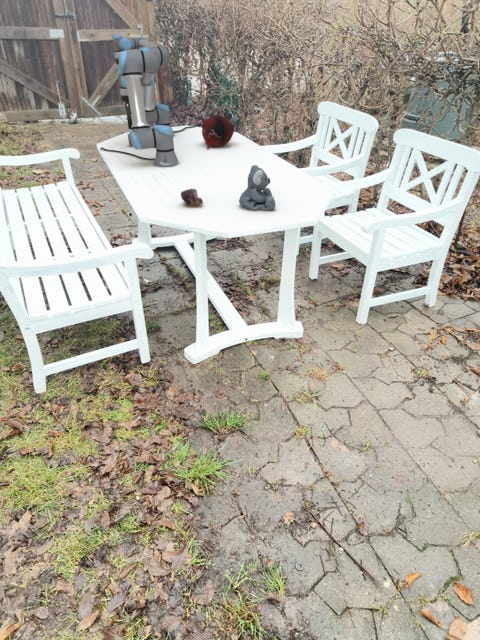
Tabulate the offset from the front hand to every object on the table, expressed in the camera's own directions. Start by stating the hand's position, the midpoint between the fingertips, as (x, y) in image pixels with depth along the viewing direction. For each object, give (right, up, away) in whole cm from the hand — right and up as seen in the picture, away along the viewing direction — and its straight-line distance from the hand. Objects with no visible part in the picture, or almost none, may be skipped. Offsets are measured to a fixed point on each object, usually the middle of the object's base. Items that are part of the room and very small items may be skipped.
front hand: (130, 127), depth 328 cm
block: (0, -11, +7) cm, 13 cm away
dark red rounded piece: (+64, -11, +7) cm, 65 cm away
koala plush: (+88, -83, -98) cm, 156 cm away
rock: (+55, -82, -96) cm, 138 cm away
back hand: (-13, +44, +32) cm, 56 cm away
